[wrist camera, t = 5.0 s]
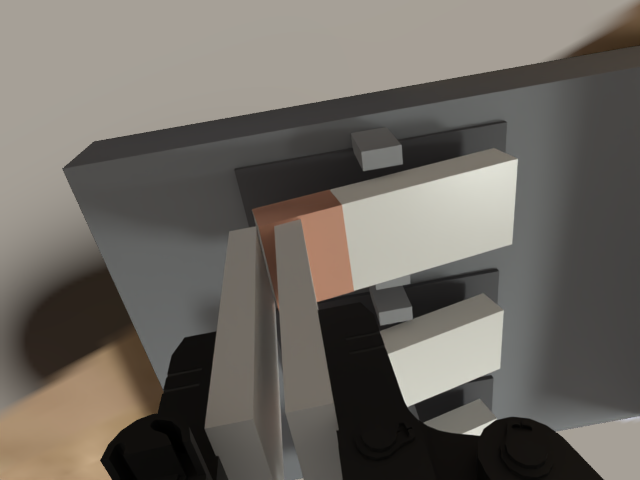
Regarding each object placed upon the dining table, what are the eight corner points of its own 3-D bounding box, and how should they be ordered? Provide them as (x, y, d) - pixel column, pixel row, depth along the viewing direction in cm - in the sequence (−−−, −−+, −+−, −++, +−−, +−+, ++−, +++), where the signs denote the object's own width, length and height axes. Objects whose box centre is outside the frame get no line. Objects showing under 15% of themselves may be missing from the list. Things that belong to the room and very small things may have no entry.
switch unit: (709, 33, 18) (1144, 76, 9) (626, 369, 26) (801, 557, 18) (93, 141, 17) (-86, 296, 9) (216, 444, 26) (189, 672, 17)
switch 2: (482, 292, 18) (504, 310, 17) (481, 349, 19) (500, 368, 18) (289, 363, 16) (300, 388, 15) (303, 420, 18) (314, 446, 17)
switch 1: (493, 147, 15) (518, 158, 14) (490, 228, 16) (512, 244, 15) (251, 209, 13) (257, 226, 12) (272, 291, 15) (279, 313, 14)
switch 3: (479, 398, 21) (497, 418, 20) (478, 440, 22) (494, 461, 21) (315, 468, 19) (326, 494, 18) (326, 508, 21) (335, 535, 19)
